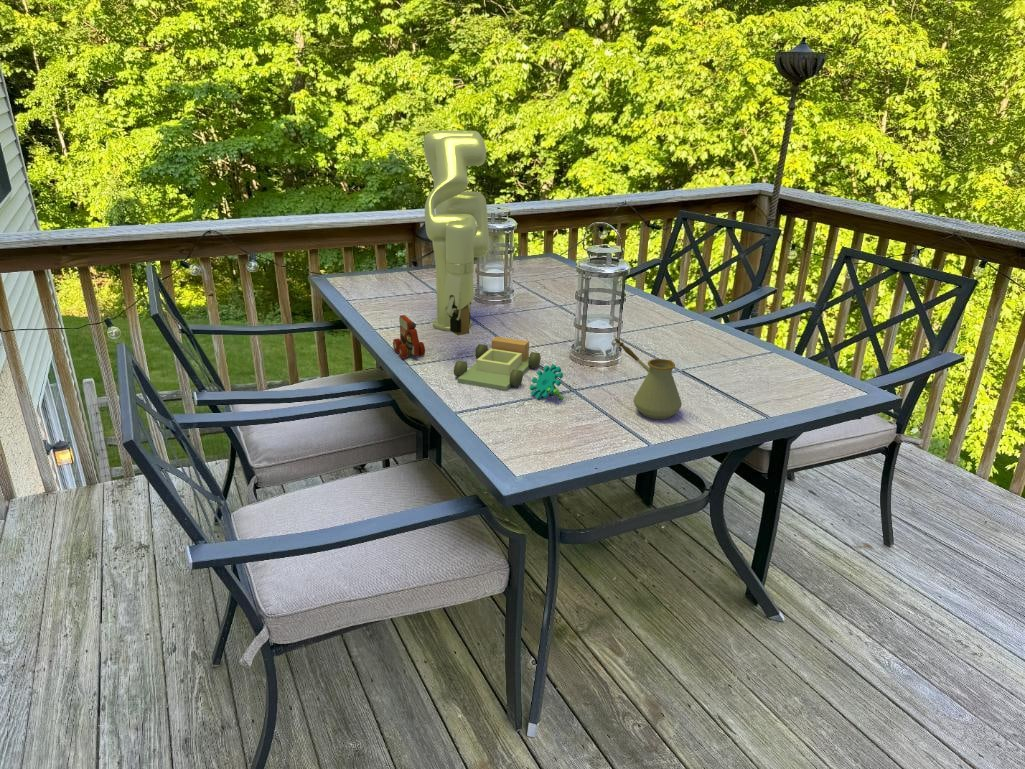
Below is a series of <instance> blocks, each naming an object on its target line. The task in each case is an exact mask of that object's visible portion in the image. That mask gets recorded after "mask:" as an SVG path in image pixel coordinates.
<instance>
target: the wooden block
mask: <svg viewBox="0 0 1025 769" xmlns="http://www.w3.org/2000/svg"><path fill="white" fill-rule="evenodd" d="M454 308H457V306H454ZM454 312H455V313H456V314H457V311H455V310H454ZM460 319H461V333H456V332H452V333H453V334H454V335H455V336H457V337H459V336H464V335H466V334H467V335H468V334H470V327H469V307H467V306H465V307H464V308H462V309H461V313H460Z"/></svg>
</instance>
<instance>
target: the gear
mask: <svg viewBox="0 0 1025 769" xmlns="http://www.w3.org/2000/svg"><path fill="white" fill-rule="evenodd" d="M536 374H537V375H538V378H536V377H532V379H531V382H532V383H533V384H535V385H533V384H530V385H529V390H530V391H531V392H530V395H531V396H532V397H536V398H537V400H541V399H542V397H543V398H545V399H547V398H549V393H550V394H552V396H553V397H555V398H558V399H559V400H560V401H564V397H563V396H562V395H561V392H560V390H559V389H558V388H557V387H560V385H561V384H562V381H560V379H563V377H564V373H562V368H561V367H560V366H556V365H555V364H554V363H552V364H551V365H550V366H549V365H544V367H543V371H542V370H541V369H539V370H538V371H537V372H536ZM557 378H559V379H557ZM556 386H557V387H556Z"/></svg>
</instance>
